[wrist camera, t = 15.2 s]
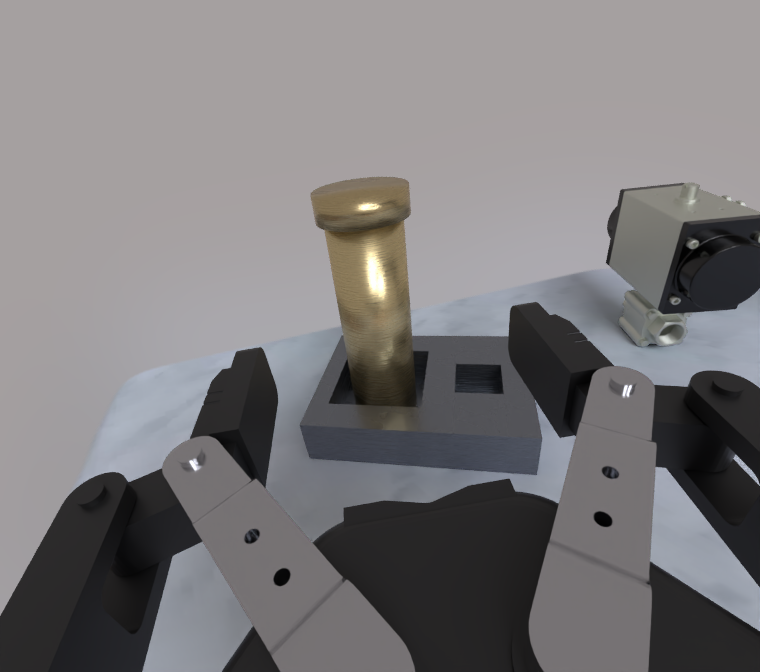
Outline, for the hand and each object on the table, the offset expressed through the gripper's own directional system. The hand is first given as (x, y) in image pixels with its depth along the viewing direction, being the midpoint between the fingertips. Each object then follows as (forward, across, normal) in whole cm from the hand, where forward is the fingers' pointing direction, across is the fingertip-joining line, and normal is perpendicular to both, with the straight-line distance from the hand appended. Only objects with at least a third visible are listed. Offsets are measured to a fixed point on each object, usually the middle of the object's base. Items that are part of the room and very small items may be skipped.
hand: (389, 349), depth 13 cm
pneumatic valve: (+15, -22, +14) cm, 30 cm away
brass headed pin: (+11, 0, +12) cm, 17 cm away
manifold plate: (+10, -2, +13) cm, 17 cm away
